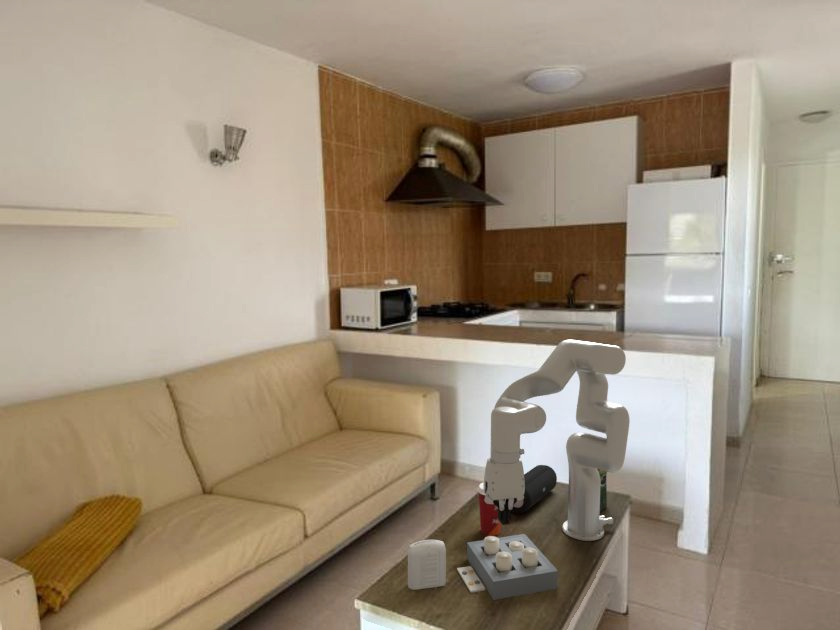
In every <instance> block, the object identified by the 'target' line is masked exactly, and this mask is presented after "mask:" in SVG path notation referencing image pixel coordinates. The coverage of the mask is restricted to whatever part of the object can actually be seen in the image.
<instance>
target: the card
mask: <svg viewBox="0 0 840 630" xmlns="http://www.w3.org/2000/svg"><path fill="white" fill-rule="evenodd" d="M457 572H458V574H459V575H460V577H461V579H462V581H463V582H464V584H465V585H466V587H467V589H468V590H469V592H470V593H477V592H482V591H484V592H485V591H486V588H485V586H484V585H483V583H482V581H481V580H480V578H479V577H478V575H477V574H476V572H475V571H474V569H473V567H472V566H471V565H468V566H463V567H462V566H461V567H457Z"/></svg>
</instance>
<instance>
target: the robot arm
mask: <svg viewBox="0 0 840 630" xmlns="http://www.w3.org/2000/svg"><path fill="white" fill-rule="evenodd" d="M626 357H627V356H626V354H625V352H624V350H623V348H621V346H619V345H613V344H612V345H611V344H603V343H599V342H598V343H597V342H591V341H584V340H576V339H566V340H565V339H564V340H562V341H560V342H559V343H558V344H557V346H556V347H555V348H554V349H553V351H552V352H551V353H550V355H549V356H548V357H547V359H546V360H545V361H544V362H543V363H542V365H541V366H540V368H539V369H538V370H536V371H534V372H532V373H530V374H527V375H526V376H523V377H522V378H519V379H517V380H515V381H514V382H512V383H511V384H509V386H508V387H507V388H506V389H505V390H504V391H503V393H502V394H501V395H500V396H499V398H498V399H497V401H496V403H495V405H494V407H493V409H492V411H491V413H490V456H489V458H487V460H486V463H485V468H484V476H483V482H484V485H483V491H484V493H485V494H486V495H485V499H484V501H485V502H486V503H487V504H494V505H495V506H497V507H498V520H499V521H500V522H501V524H502V526H506V525H508V526H509V525H510V520H511V517H512V514H511V512H512V511H511V509H512V508H513V505H514V504H515V503H516V502H517V501H520V500H522V499H524V492H525V480H524V474H525V472H524V465H523V461H522V459H521V455H525V448H521V435H524V434H533V433H537V432H539V431H541V430H542V428H544V426H545V425H546V422H547V414H546V411H545V409H544V408H543V407H541V406H539V405H537V404H534V403H531V402H526V401H528V400H530V399H532V398H536V397H543V396H549V395H554V394H558V393H560V392H562V391H563V390H564V389H565V387H566V386H567V384H568V383H569V382H570V381H571V379H572V378H573V376H574V374H575V373H577V375H578V379H579V390H578V396H577V397H578V398H577V403H576V412H575V421H576V424H577V425H578V426H579V427H581V428H583V429H587V430H590V431H594V432H598V433H601V434H605V435H606V436H605V437H603V436H599V435H596V434H593V433H587V432H580V431H578V432H574V433H572V434H571V435H569V436H568V438H567V440H566V445H565V451H566V457H567V463H568V492H567V493H568V497H567V498H568V500H567V501H568V502H567V503H568V504H567V520H565V521H564V522H563V523H562V531H563V533H564V534H565V535H567V536H568V537H570V538H572V539H575V540H579V541H585V542H592V541H598V540H600V539H602V538H603V537H604V536H605V528H604V527H605V526H606V525H612V524H614V518H612V517H611V516H610V517H605V515H603V514H602V515H601V514H600V512H601V511H600V486H601V480H600V475H599V472H598V470H597V469H600V470H603V471H606V472H607V473H610V474H611V473H613V474H614V473H618V472H619V471H621V469H622V468H623V465H624V463H625V459H626V453H627V451H626V450H627V444H628V437H629V432H630V431H629V430H630V414H629V412H628V409H627V408H626V407H625V406H624V405H622V404H619V403H615V402H610V401H608V395H609V394H608V393H609V382H608V379H607V377H606V375H612V376H613V375H614V376H615V375H618V374H619V373H620V372H622V370H623V369H624V367H625V365H626V360H627V358H626ZM504 499H505V502H504Z"/></svg>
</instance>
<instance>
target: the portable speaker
mask: <svg viewBox="0 0 840 630" xmlns="http://www.w3.org/2000/svg"><path fill="white" fill-rule="evenodd" d="M524 480H525V492H524V499H522V500H520V501H517V502H516V503H515V504H514V505H513V508H512V509H511V512H513V513H516V514H517V513H518V514H519V513H520V514H521V513H525V512H527V511H528V510H529V509H531V508H532V507H533V506H535V504H536V503H538V502H539V501H540V500H542V499H543V498H544V497H545V496H546V495H548V494H549V493H550V492H551V491H553V490H554V489H555V488H556V486H557V482H558V477H557V473H556V471H555V469H553V468H552V467H551V466H549V465H548V464H547V465H546V464H538V465H536V466H534V467H533V468H532V469H530V470H528V471H527V472H526V473H524ZM503 502H505V499H503Z"/></svg>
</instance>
